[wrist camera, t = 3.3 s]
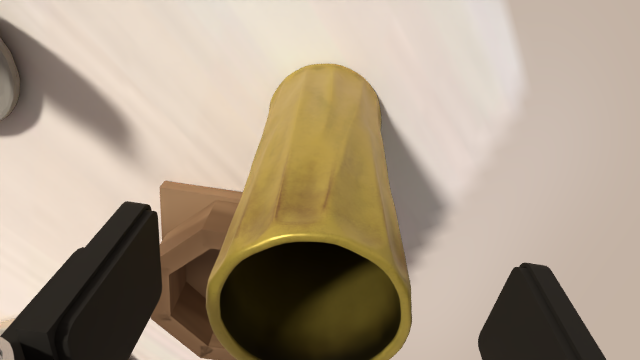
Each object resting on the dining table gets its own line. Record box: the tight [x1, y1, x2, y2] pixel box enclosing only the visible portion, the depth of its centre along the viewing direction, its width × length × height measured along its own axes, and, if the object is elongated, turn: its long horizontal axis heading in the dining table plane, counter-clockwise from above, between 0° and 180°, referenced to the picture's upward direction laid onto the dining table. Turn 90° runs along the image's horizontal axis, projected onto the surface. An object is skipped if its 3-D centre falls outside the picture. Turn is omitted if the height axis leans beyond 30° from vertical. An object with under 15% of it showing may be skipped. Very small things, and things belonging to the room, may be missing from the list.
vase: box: [206, 64, 412, 360], centre depth 16 cm, size 6×6×14 cm
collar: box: [151, 181, 243, 360], centre depth 26 cm, size 11×11×4 cm
